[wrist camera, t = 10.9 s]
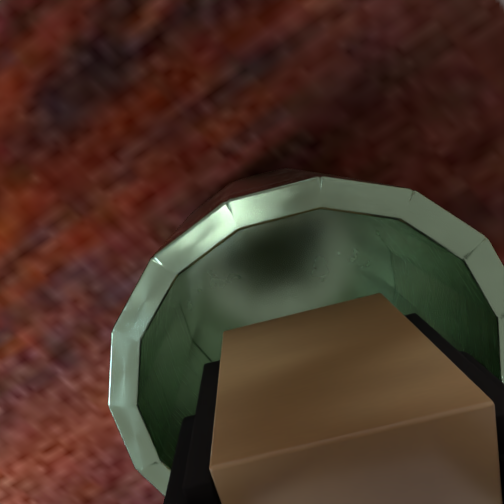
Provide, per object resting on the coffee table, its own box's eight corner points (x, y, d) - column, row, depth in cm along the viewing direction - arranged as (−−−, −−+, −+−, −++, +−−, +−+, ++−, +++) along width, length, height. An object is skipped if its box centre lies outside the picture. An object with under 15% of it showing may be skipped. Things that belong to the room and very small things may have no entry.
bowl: (387, 140, 15) (518, 123, 8) (419, 366, 18) (537, 503, 11) (132, 206, 16) (39, 248, 8) (205, 416, 19) (182, 581, 11)
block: (381, 291, 10) (497, 402, 5) (403, 424, 11) (512, 604, 6) (222, 330, 10) (207, 469, 5) (261, 456, 11) (274, 653, 7)
